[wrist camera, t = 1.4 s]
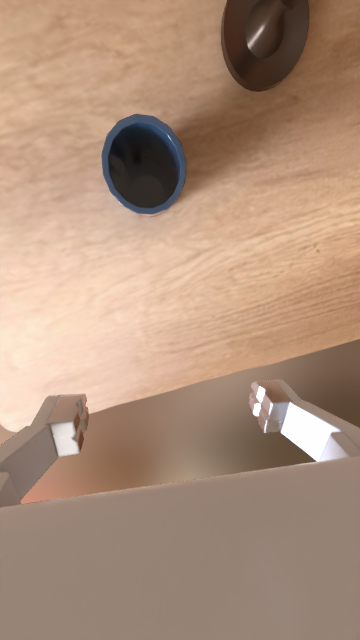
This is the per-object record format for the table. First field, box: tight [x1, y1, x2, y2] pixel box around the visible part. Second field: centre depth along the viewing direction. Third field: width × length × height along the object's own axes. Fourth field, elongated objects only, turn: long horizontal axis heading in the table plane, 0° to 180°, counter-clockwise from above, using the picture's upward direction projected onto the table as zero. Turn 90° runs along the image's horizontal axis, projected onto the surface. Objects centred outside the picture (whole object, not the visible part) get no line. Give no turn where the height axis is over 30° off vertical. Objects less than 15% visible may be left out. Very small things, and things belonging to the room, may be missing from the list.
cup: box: [102, 114, 186, 217], centre depth 22 cm, size 7×7×11 cm
